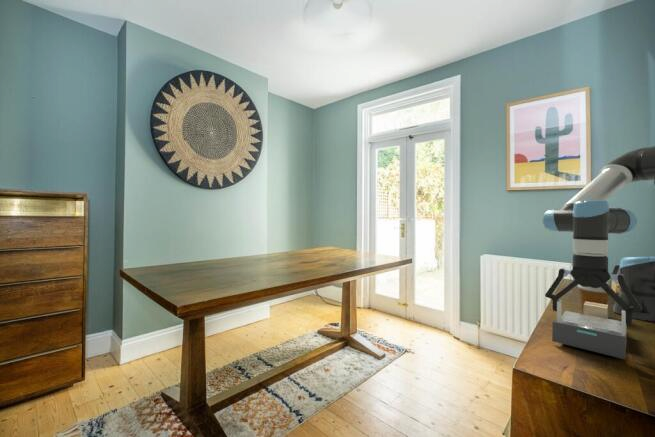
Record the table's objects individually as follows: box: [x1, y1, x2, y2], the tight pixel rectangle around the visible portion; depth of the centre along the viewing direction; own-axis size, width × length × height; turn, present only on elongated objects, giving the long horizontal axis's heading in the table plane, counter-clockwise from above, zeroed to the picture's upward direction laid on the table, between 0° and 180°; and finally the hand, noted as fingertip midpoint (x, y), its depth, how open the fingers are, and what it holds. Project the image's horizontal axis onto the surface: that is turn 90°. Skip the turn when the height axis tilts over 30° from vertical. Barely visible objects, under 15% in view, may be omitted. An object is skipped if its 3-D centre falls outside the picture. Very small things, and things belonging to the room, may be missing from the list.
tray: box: [551, 320, 627, 360], centre depth 84 cm, size 14×15×6 cm
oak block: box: [584, 301, 609, 319], centre depth 102 cm, size 6×6×7 cm
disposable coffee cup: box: [577, 284, 610, 314], centre depth 113 cm, size 10×10×12 cm
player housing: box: [561, 310, 627, 335], centre depth 92 cm, size 15×15×4 cm
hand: (589, 328), depth 83 cm, fingers open, 13 cm apart
